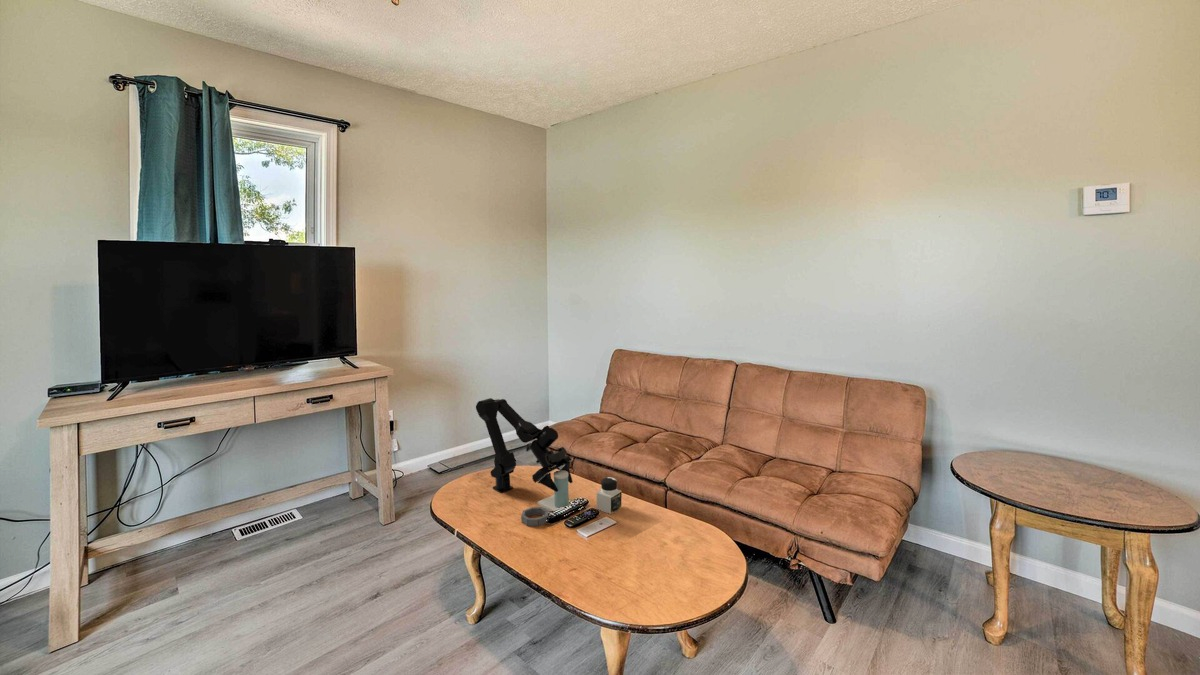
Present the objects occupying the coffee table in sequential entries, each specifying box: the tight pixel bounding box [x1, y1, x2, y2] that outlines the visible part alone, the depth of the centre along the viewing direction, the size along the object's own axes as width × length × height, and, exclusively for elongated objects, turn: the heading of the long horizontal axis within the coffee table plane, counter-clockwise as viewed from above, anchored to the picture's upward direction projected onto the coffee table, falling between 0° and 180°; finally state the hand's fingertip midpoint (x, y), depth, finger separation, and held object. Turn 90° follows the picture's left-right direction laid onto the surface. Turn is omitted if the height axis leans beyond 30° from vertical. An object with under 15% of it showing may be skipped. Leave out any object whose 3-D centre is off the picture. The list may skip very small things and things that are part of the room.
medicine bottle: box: [596, 476, 623, 515], centre depth 189 cm, size 7×7×12 cm
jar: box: [553, 469, 570, 508], centre depth 189 cm, size 6×6×13 cm
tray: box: [537, 494, 584, 516], centre depth 191 cm, size 16×10×1 cm, turn 44°
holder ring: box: [521, 506, 549, 527], centre depth 181 cm, size 10×10×2 cm
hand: (564, 486), depth 189 cm, fingers open, 9 cm apart
